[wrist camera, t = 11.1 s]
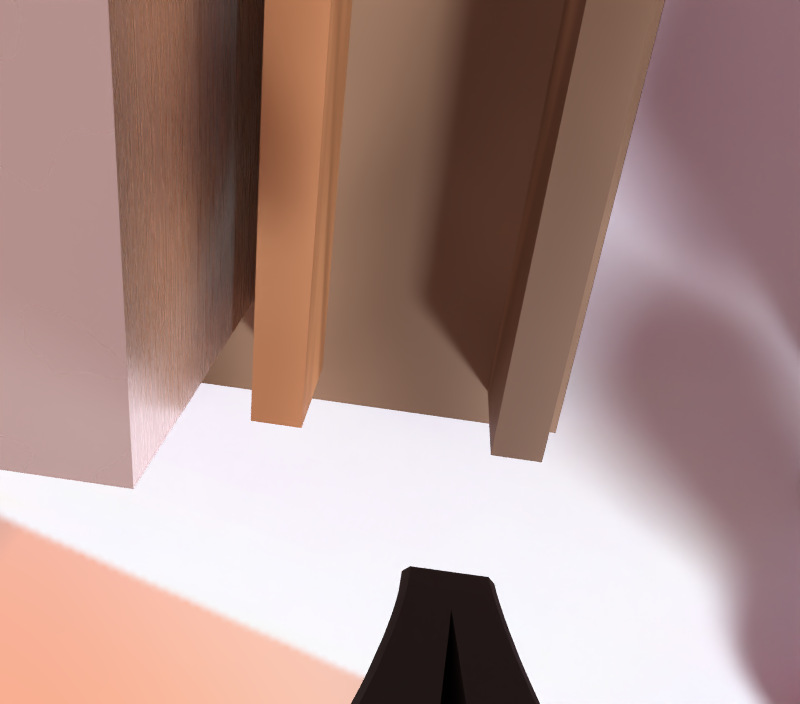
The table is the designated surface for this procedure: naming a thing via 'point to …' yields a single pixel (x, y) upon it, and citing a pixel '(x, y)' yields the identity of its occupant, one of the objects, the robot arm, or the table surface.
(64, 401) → the wooden block
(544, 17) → the rack
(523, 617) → the table surface
